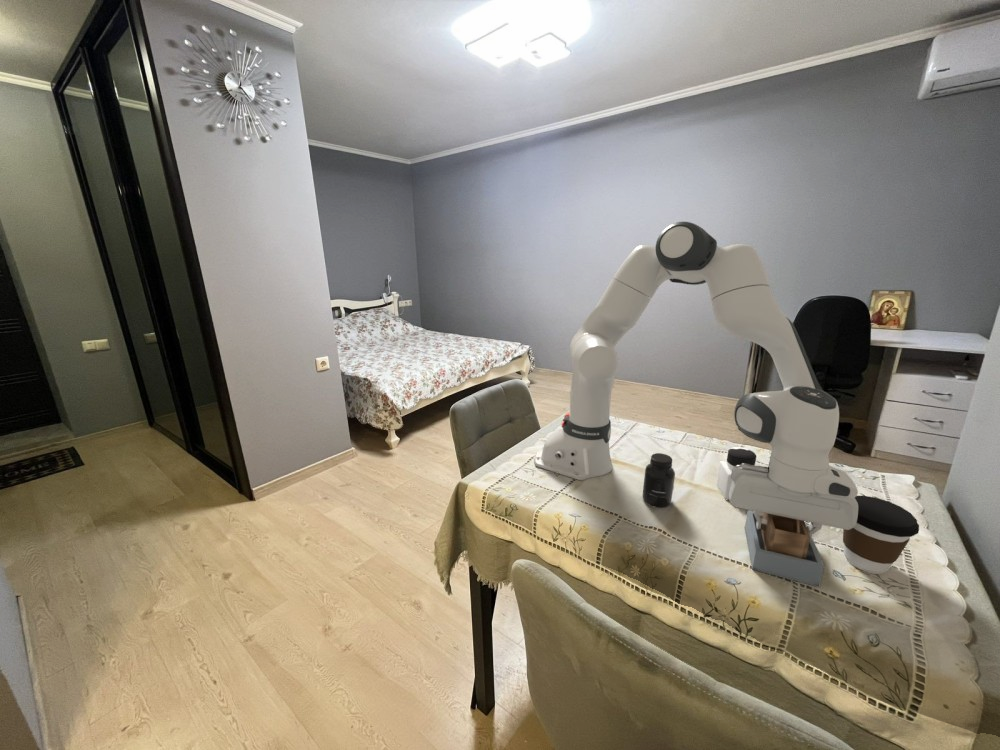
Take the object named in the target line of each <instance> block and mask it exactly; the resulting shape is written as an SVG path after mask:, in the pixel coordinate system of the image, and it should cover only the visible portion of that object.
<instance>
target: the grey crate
mask: <svg viewBox="0 0 1000 750" xmlns="http://www.w3.org/2000/svg"><path fill="white" fill-rule="evenodd" d="M762 516H763V513H762ZM762 516H760V517H761V518H762ZM756 522H757V520H756V518H755V516H754V513H753V510H749V509H747V513H746V518H745V524H744V532H745V537H746V542H747V549H748V553H749V560H750V565H751V570H752V571H756V572H760V573H763V574H767V575H771V576H776V577H779V578H783V579H787V580H791V581H795V582H799V583H803V584H807V585H811V586H815V587H818V588H820V585H821V581H822V577H823V573H824V569H825V565H824V562H823V560H822V558H821V555H820V552H819V550H818V548H817V545H816V543H815V540H814V538H813V536H812V537H811V540H810V543H809V547H808V551H807V555H806V559H805V560H804V559H800V558H796V557H792V556H788V555H783V554H779V553H775V552H771V551H767V550H765V546H764V541H763V537H762V532H761V530H759V529H757V527H756ZM804 522H805V525H806V527H807V526H808V525H809V524H808V522H807V521H804Z"/></svg>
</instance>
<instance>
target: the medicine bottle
mask: <svg viewBox="0 0 1000 750" xmlns="http://www.w3.org/2000/svg"><path fill="white" fill-rule="evenodd" d="M756 461H757V455H756V453H755V452H754V451H752V450H751V449H748V448H746V447H740V446H736V447H735V446H734V447H731V448H729V449H728V451H727V458H726V460H720V461H719V465H718V472H717V478H716V486H717V488H718V489H719V491H720V494H721V495H722V497H723V498H724V500H727V501H728V500H729V501H730V499H729V491H730V487H731V484H732V481H733V480H732V478H731V473H732V469H733V468H734V467H735V466H737V465H742V463H745V464H750V465H755V466H756Z"/></svg>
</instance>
